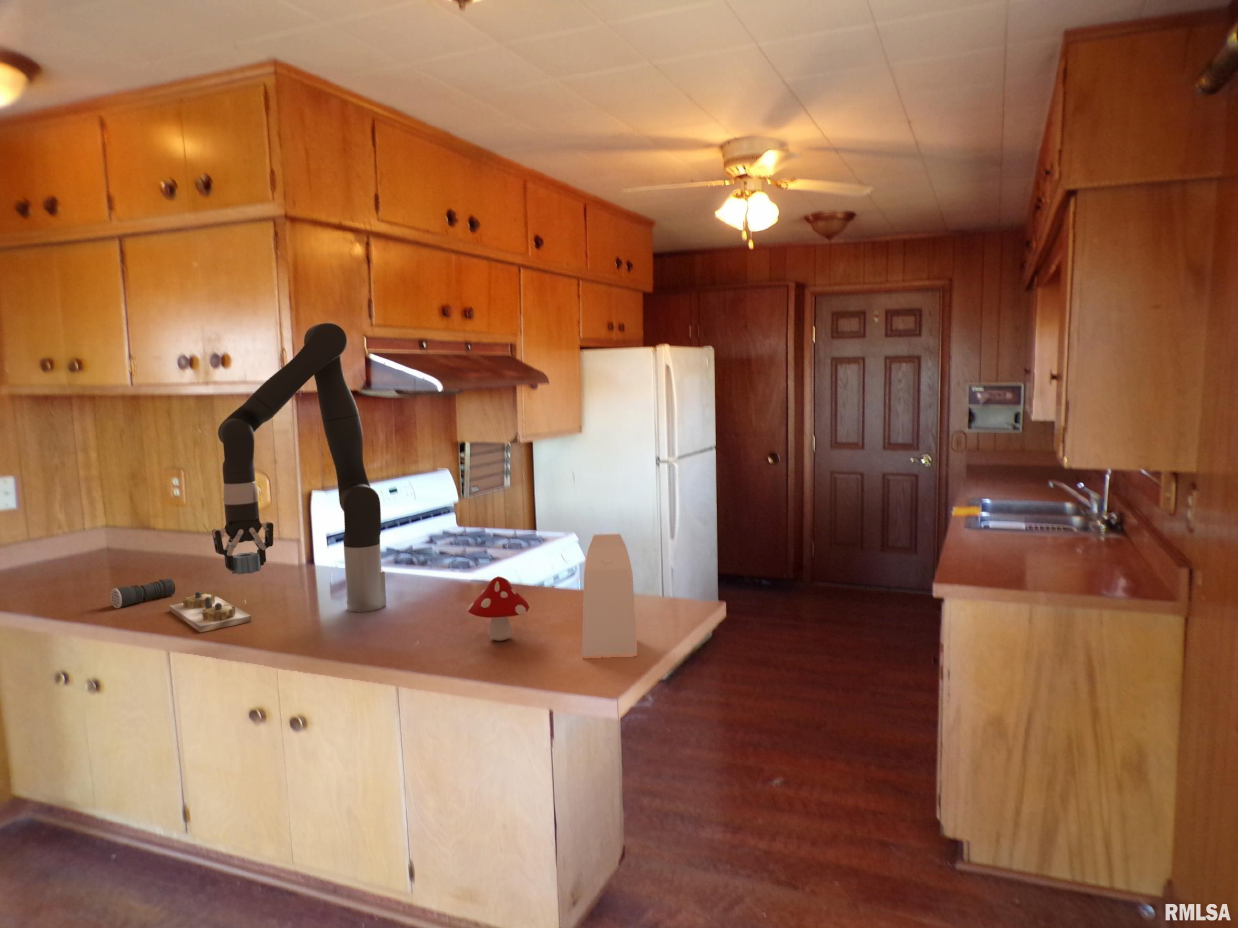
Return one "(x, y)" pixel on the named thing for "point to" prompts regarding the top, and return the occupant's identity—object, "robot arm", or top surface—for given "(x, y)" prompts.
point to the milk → (608, 598)
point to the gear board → (206, 624)
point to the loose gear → (246, 563)
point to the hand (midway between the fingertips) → (246, 567)
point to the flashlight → (141, 592)
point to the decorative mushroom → (499, 607)
